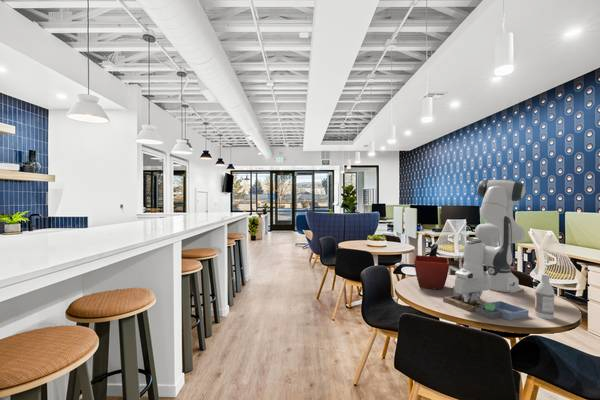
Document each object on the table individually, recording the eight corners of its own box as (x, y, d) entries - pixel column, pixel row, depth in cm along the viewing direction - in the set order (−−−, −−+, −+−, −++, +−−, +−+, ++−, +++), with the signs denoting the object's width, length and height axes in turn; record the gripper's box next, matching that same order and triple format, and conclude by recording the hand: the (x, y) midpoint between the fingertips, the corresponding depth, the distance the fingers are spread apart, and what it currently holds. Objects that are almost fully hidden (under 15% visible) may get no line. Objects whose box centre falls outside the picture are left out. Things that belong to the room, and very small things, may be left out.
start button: (488, 309, 149) (488, 302, 149) (496, 312, 145) (497, 305, 145) (482, 310, 147) (482, 303, 147) (490, 313, 144) (491, 306, 144)
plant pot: (413, 288, 188) (414, 260, 187) (414, 280, 205) (415, 254, 205) (448, 293, 180) (449, 263, 180) (447, 284, 198) (448, 257, 198)
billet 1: (457, 300, 166) (457, 285, 166) (464, 303, 162) (465, 287, 162) (451, 301, 164) (451, 286, 164) (458, 304, 160) (458, 288, 160)
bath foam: (535, 313, 151) (536, 271, 151) (553, 317, 147) (555, 274, 146) (534, 317, 146) (535, 274, 145) (553, 321, 141) (554, 277, 141)
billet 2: (479, 308, 155) (479, 292, 154) (472, 309, 153) (473, 293, 153) (471, 305, 159) (471, 289, 159) (464, 306, 157) (465, 290, 157)
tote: (500, 307, 158) (500, 300, 158) (528, 317, 145) (528, 310, 145) (481, 311, 152) (482, 304, 152) (509, 321, 140) (509, 313, 140)
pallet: (459, 299, 169) (459, 294, 169) (487, 309, 155) (487, 304, 155) (443, 302, 165) (443, 297, 165) (470, 312, 150) (470, 307, 150)
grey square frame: (487, 312, 152) (487, 305, 152) (503, 318, 144) (504, 311, 144) (475, 314, 148) (475, 307, 148) (491, 320, 141) (492, 313, 141)
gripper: (481, 269, 163) (480, 296, 163) (452, 272, 154) (451, 300, 155) (493, 272, 157) (492, 300, 157) (463, 275, 149) (462, 305, 149)
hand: (472, 300), depth 156 cm, fingers open, 6 cm apart
